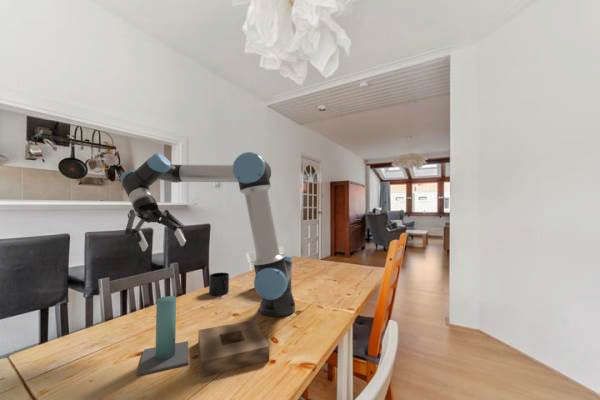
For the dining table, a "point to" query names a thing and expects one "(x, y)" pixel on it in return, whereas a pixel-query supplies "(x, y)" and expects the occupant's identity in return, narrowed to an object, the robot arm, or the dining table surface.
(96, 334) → the dining table surface
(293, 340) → the dining table surface
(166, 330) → the peg
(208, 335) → the pocket block
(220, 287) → the mug
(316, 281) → the dining table surface
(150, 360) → the mat
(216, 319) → the dining table surface
